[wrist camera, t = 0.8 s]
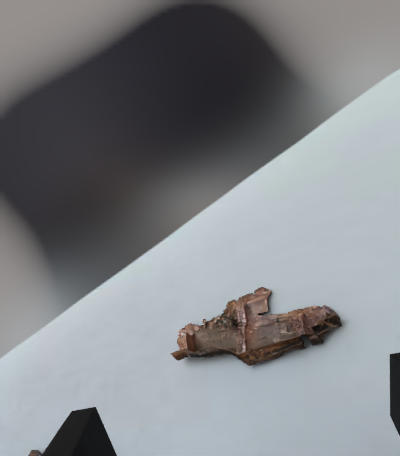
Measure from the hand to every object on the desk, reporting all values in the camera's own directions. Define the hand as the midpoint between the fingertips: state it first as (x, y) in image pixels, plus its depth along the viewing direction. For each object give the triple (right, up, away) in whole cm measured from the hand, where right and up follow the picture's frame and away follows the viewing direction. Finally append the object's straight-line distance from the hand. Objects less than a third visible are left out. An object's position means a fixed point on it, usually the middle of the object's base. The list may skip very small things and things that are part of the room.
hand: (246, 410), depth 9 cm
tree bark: (+3, -2, +20) cm, 20 cm away
